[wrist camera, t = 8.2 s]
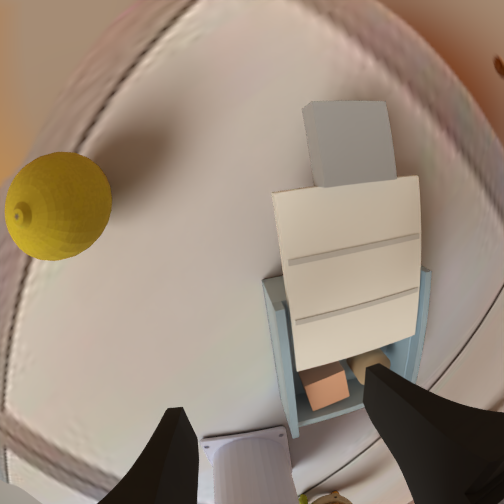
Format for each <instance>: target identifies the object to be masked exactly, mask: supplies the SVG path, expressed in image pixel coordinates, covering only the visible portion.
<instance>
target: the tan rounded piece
mask: <svg viewBox="0 0 504 504" xmlns="http://www.w3.org/2000/svg"><path fill="white" fill-rule="evenodd" d="M346 361H347V364H348V366H349V367H350V369H351V370H352V372H353V373H354V375H355V376H356V378H357V379H358V381H359V382H360V383H361V384H362V385H364V382H365V371H366V367H369V366H372V365H374V364H377V363H380V364H382V365H384V366H385V367H387V368H389V369H390V366H391V362H390V360H389V358H388V357H387V356H386V355H385V354H384V353H383V351H382V350H381V349H380V348H377V349H374V350H371V351H368V352H365V353H362V354H359V355H355V356H352V357H349V358H346Z"/></svg>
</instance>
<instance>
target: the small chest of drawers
mask: <svg viewBox="0 0 504 504" xmlns="http://www.w3.org/2000/svg"><path fill="white" fill-rule="evenodd" d="M302 113H303V119H304V124H305V130H306V136H307V142H308V148H309V155H310V161H311V168H312V175H313V182H314V186H312V187H305V188H298V189H291V190H284V191H278V192H272V193H271V194H272V200H273V207H274V214H275V220H276V227H277V234H278V241H279V248H280V255H281V263H282V270H283V277H284V285H285V293H286V301H287V308H288V317H289V325H290V333H291V342H292V350H293V359H294V366H295V368H296V371H297V372H298V371H302V370H306V369H310V368H313V367H317V366H321V365H325V364H328V363H332V362H335V361H339V360H342V359H346V358H349V357H352V356H355V355H359V354H362V353H365V352H368V351H371V350H374V349H377V348H380V347H383V346H386V345H389V344H391V343H394V342H397V341H400V340H402V339H405V338H408V337H410V336H413V335H415V330H416V322H417V312H418V302H419V289H420V271H421V207H420V190H419V177H418V176H416V175H408V176H397V173H396V164H395V156H394V148H393V141H392V134H391V128H390V122H389V116H388V111H387V106H386V101H313V102H310V103H309V104H308V105H306V106H305V107H303V108H302Z"/></svg>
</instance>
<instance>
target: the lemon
mask: <svg viewBox="0 0 504 504" xmlns="http://www.w3.org/2000/svg"><path fill="white" fill-rule="evenodd" d="M111 207H112V195H111V188H110V185H109V183H108V180H107V177H106V176H105V174H104V173H103V171H102V170H101V168H100V167H99V166H98V165H96V164H95V163H94V162H93V161H92V160H90V159H89V158H87V157H84V156H82V155H79V154H77V153H71V152H55V153H51V154H48V155H44V156H41V157H39V158H37V159H35V160H33V161H32V162H30V163H29V164H27V165H26V166H25V167H23V168H22V169H21V171H20V172H19V173H18V174H17V175H16V176H15V178H14V180H13V181H12V183H11V185H10V187H9V190H8V193H7V197H6V202H5V220H6V224H7V228H8V231H9V233H10V235H11V237H12V239H13V241H14V242H15V243H16V244H17V246H18V247H19V248H20V249H21V250H22V251H24V252H25V253H26V254H28V255H29V256H32V257H34V258H37V259H40V260H50V261H56V260H62V259H66V258H70V257H73V256H76V255H78V254H79V253H81V252H83V251H84V250H86V249H87V248H89V247H90V246H91V245H92V244H93V243H94V242H95V241H96V240H97V239H98V238H99V237H100V236H101V234H102V232H103V231H104V229H105V227H106V225H107V223H108V221H109V217H110V213H111Z"/></svg>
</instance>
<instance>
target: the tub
mask: <svg viewBox="0 0 504 504" xmlns="http://www.w3.org/2000/svg"><path fill="white" fill-rule="evenodd" d="M431 274H432V271H431V270H429V269H427V268H425V267H423V266H421V271H420V289H419V302H418V312H417V322H416V330H415V335H413V336H410V337H408V338H405V339H402V340H400V341H397V342H394V343H391V344H389V345H386V346H383V347H380V349H381V350H382V351H383V353H384V354H385V355H386V356H387V357H388V358H389V360H390V362H391V366H390V370H392V371H393V372H395V373H397V374H398V375H400V376H402V377H404V378H405V379H407V380H409V381H410V382H412V383H414V384H416V380H417V375H418V370H419V366H420V361H421V355H422V350H423V344H424V338H425V331H426V324H427V317H428V308H429V299H430V288H431ZM262 283H263V290H264V296H265V302H266V308H267V315H268V321H269V327H270V333H271V340H272V346H273V352H274V359H275V365H276V372H277V378H278V384H279V391H280V397H281V401H282V405H283V408H284V411H285V415H286V418H287V421H288V425H289V428H290V431H291V435H292V438H297V437H299V428H298V427H301V426H305V425H309V424H313V423H316V422H320V421H323V420H327V419H330V418H334V417H337V416H340V415H343V414H346V413H349V412H352V411H355V410H358V409H361V408H364V407H365V406H364V404H363V393H364V385H362V384H361V383H360V382H359V381H358V379H357V378H356V376H355V375H354V373H353V372H352V370H351V369H350V367H349V366H348V364H347V361H346V359H342V360H339V362H340V364H341V366H342V367H343V369H344V371H345V376H346V380H347V385H348V390H349V395H350V396H349V397H347V398H345V399H342V400H340V401H338V402H335V403H333V404H330V405H328V406H326V407H323V408H321V409H318V410H315V411H313V410H312V408H311V405H310V403H309V400H308V398H307V395H306V393H305V390H304V388H303V385H302V382H301V379H300V376H299V374H298V372H297V371H296V368H295V366H294V359H293V350H292V342H291V333H290V325H289V317H288V308H287V301H286V293H285V285H284V277H283V276H279V277H274V278H269V279H264V280H262Z"/></svg>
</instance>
